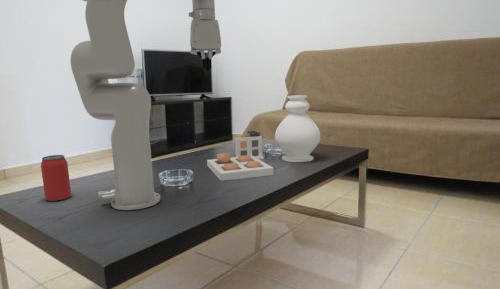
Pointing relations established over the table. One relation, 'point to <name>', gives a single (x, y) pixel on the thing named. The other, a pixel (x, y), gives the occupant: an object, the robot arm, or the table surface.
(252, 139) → the pattern card
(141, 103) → the robot arm
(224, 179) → the button board
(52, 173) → the beer can
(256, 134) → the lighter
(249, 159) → the button back right
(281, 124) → the decorative vase
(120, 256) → the table surface
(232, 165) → the button front left
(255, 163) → the button front right
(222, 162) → the button back left
